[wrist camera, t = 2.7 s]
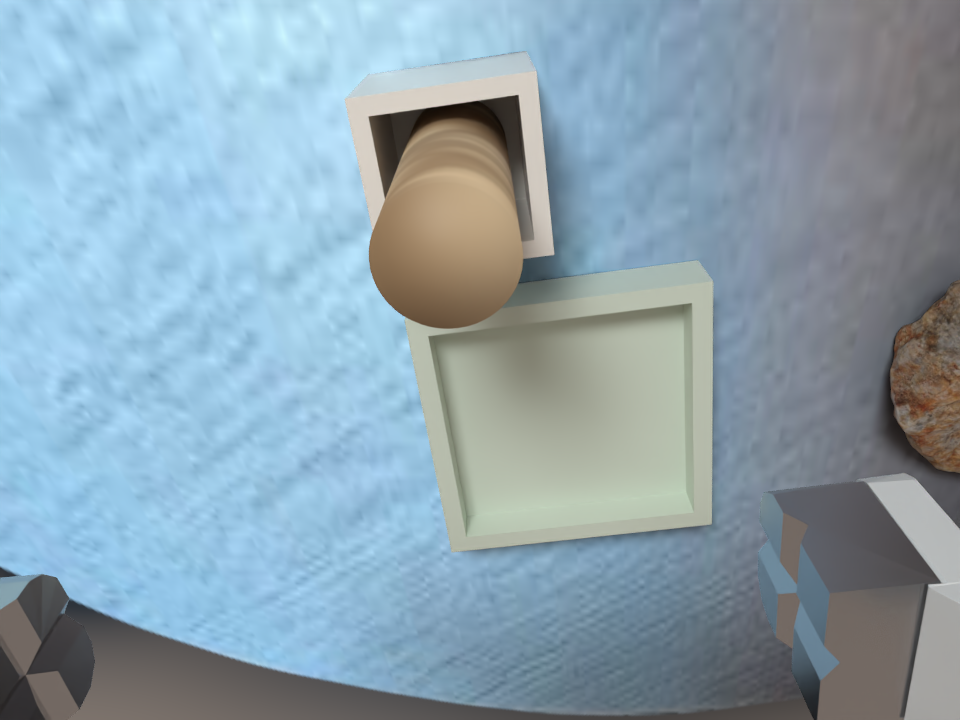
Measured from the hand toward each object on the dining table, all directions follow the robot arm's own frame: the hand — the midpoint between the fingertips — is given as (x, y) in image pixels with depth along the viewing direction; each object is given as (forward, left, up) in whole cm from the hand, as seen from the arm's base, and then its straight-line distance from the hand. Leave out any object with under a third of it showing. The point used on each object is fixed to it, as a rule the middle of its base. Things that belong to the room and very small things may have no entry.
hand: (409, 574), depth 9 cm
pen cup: (0, 0, -23) cm, 23 cm away
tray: (-3, +12, -23) cm, 26 cm away
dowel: (0, 0, -22) cm, 22 cm away
